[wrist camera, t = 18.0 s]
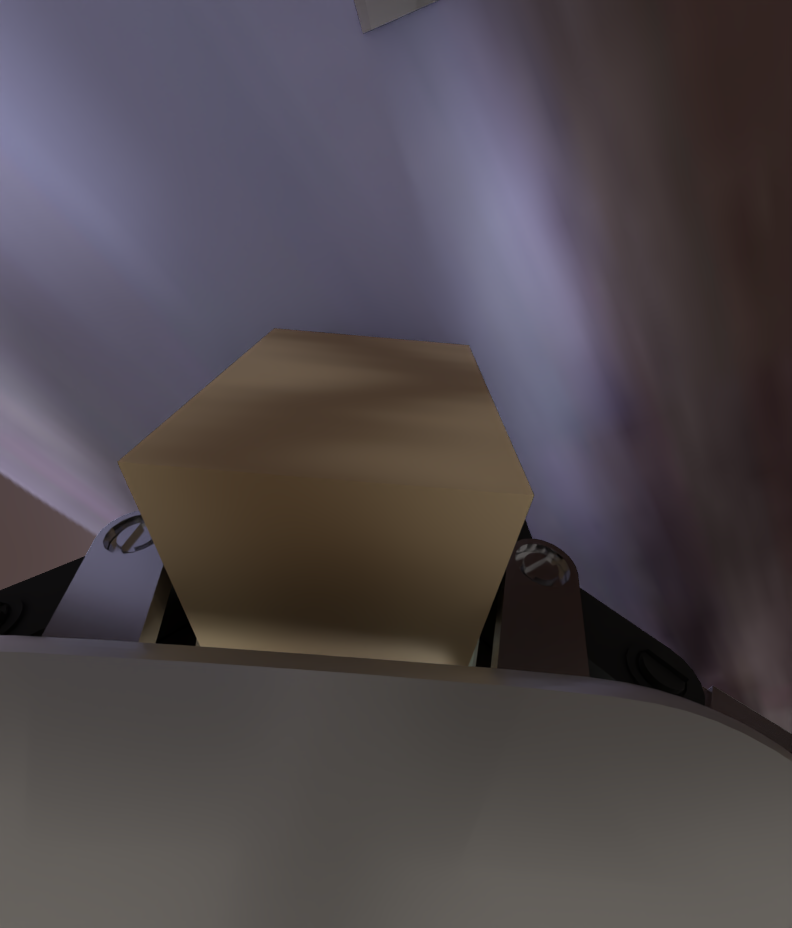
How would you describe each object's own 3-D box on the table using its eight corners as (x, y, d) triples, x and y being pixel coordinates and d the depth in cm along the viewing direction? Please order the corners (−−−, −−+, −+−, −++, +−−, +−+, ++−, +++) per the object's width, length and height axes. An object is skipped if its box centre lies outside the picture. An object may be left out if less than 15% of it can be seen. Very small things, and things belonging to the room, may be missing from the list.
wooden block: (469, 345, 9) (533, 495, 4) (432, 535, 13) (444, 725, 8) (274, 328, 9) (116, 461, 4) (296, 525, 13) (228, 710, 8)
